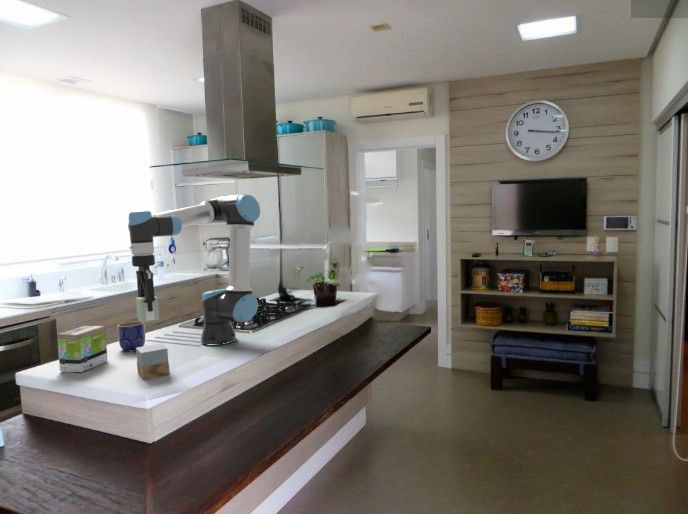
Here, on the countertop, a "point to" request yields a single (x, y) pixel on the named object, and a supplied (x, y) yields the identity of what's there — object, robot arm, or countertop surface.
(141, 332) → the planter
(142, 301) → the green block
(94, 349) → the tea box
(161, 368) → the tower base
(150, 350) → the tower top
